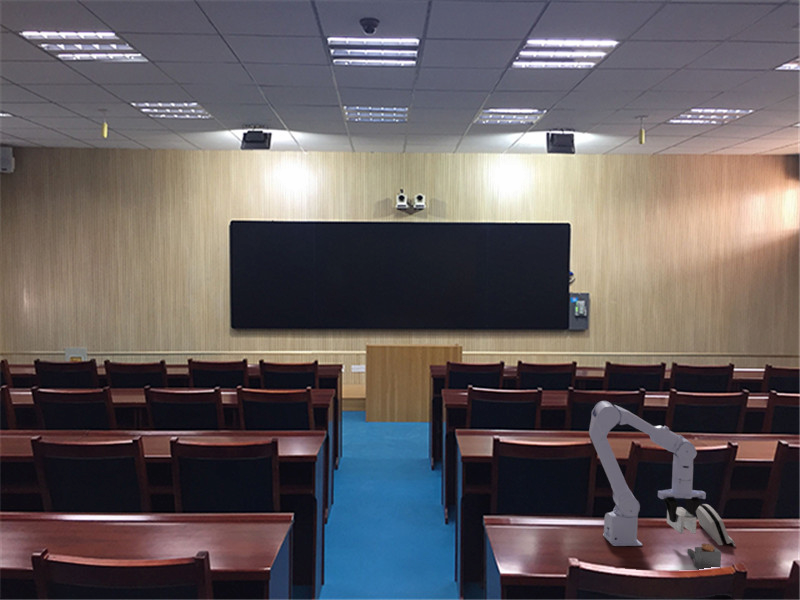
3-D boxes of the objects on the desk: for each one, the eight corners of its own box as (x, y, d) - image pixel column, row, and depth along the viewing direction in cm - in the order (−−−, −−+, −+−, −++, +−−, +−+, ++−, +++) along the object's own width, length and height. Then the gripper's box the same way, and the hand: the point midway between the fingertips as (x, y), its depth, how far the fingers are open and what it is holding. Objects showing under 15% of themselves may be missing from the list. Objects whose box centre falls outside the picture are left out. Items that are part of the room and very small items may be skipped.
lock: (666, 522, 184) (667, 507, 184) (681, 522, 185) (681, 507, 184) (680, 533, 176) (681, 517, 176) (695, 533, 177) (696, 517, 176)
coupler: (700, 570, 165) (701, 548, 165) (679, 553, 175) (680, 532, 175) (720, 570, 165) (721, 548, 165) (698, 553, 176) (699, 532, 176)
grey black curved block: (736, 546, 181) (725, 516, 182) (720, 550, 182) (710, 520, 182) (714, 525, 198) (705, 497, 198) (700, 528, 199) (691, 500, 199)
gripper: (666, 482, 176) (665, 526, 176) (712, 482, 177) (710, 526, 177) (654, 474, 183) (653, 517, 183) (698, 474, 184) (697, 516, 184)
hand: (680, 521), depth 181 cm, fingers closed on lock, 5 cm apart
